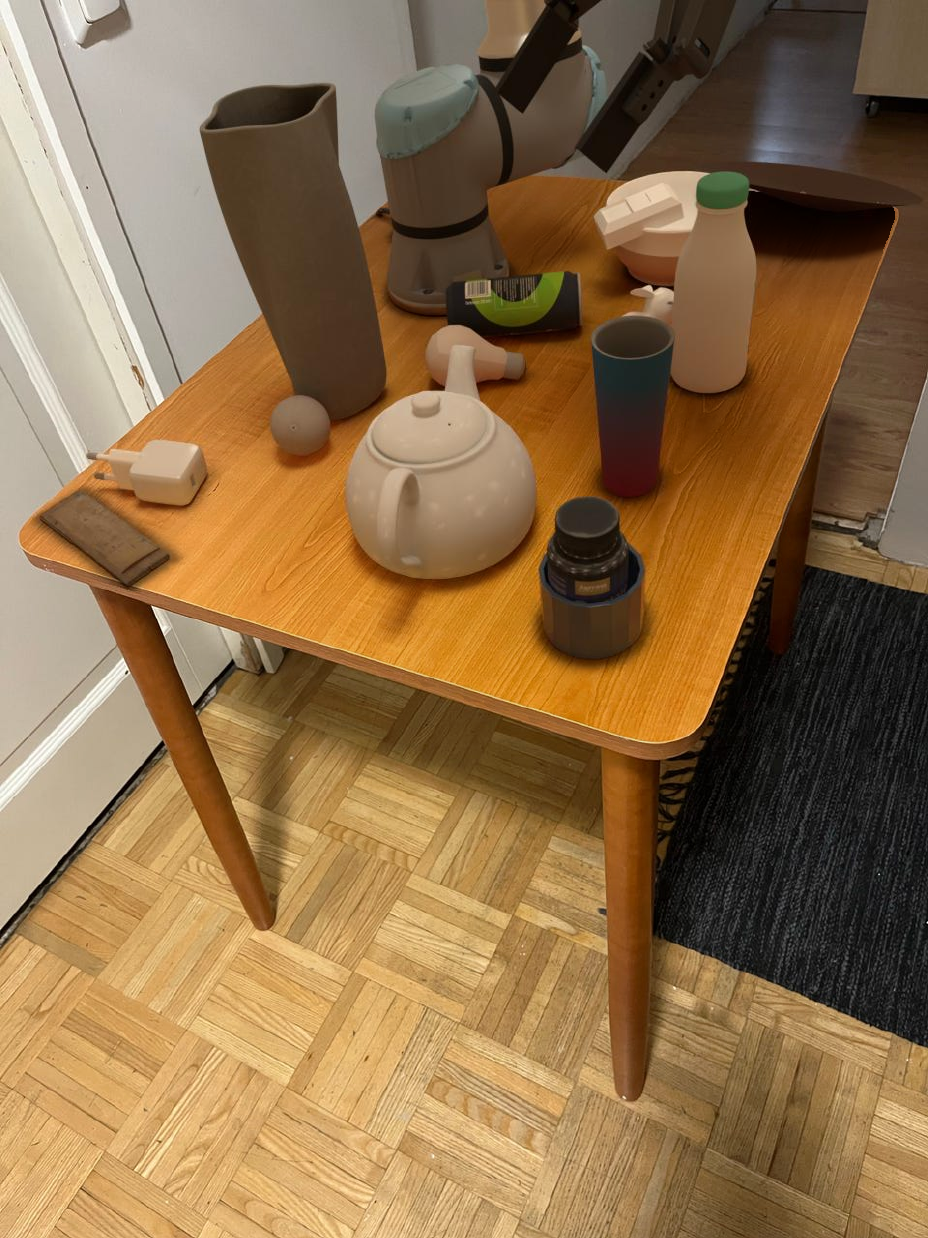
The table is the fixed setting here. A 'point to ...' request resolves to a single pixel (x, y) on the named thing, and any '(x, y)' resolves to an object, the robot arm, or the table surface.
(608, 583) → the pill bottle
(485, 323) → the beverage can
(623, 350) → the cup
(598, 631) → the cylindrical container
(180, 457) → the power adapter
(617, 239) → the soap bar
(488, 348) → the light bulb
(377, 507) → the teapot
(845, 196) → the plate
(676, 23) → the robot arm
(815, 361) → the table surface
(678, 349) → the milk bottle
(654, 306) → the elephant figurine
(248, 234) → the vase
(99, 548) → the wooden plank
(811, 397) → the table surface
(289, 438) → the ball
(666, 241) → the bowl
